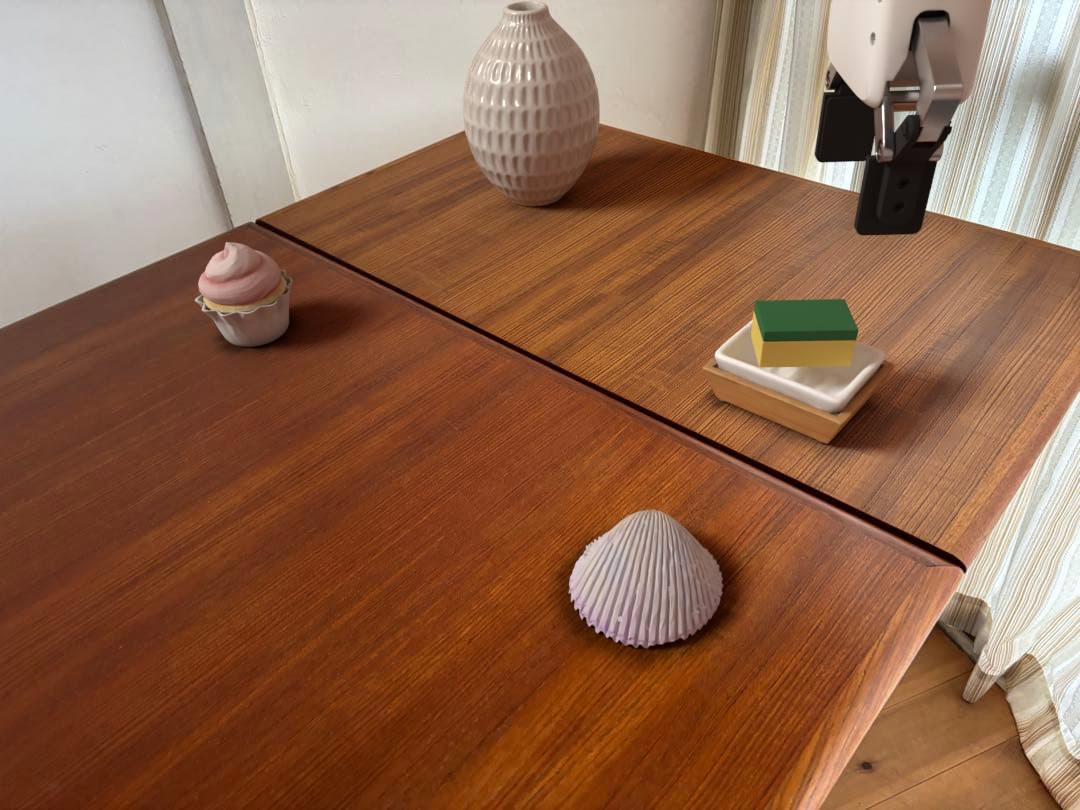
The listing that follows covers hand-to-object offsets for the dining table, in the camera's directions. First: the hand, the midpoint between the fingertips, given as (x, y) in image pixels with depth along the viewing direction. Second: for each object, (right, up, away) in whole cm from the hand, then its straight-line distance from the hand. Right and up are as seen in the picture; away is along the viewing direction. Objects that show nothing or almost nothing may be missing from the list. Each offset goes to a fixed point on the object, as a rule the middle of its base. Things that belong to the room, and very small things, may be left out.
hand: (862, 193), depth 47 cm
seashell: (-11, -24, +11) cm, 29 cm away
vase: (-18, +15, +60) cm, 65 cm away
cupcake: (-46, -4, +38) cm, 60 cm away
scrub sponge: (+3, -7, +22) cm, 24 cm away
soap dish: (+4, -11, +26) cm, 28 cm away
